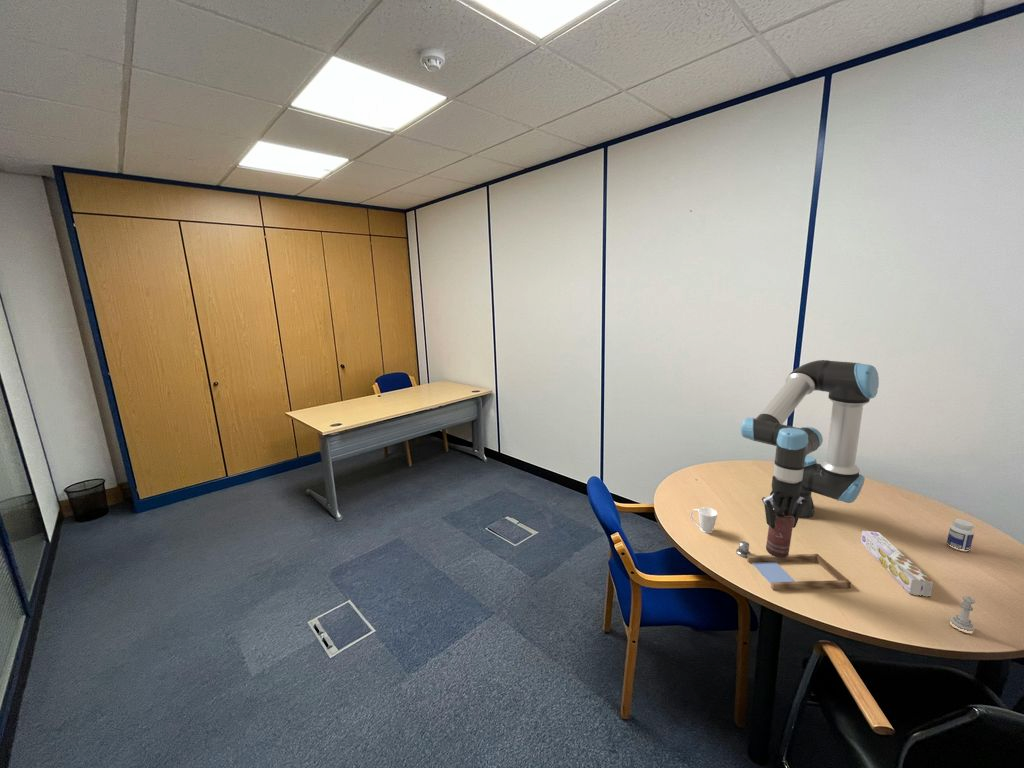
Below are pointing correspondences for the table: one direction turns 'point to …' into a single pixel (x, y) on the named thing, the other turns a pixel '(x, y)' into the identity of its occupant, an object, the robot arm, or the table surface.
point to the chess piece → (964, 615)
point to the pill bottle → (961, 534)
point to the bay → (838, 583)
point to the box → (897, 564)
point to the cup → (705, 519)
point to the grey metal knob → (743, 549)
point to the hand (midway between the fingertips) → (778, 546)
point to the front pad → (772, 572)
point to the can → (780, 536)
